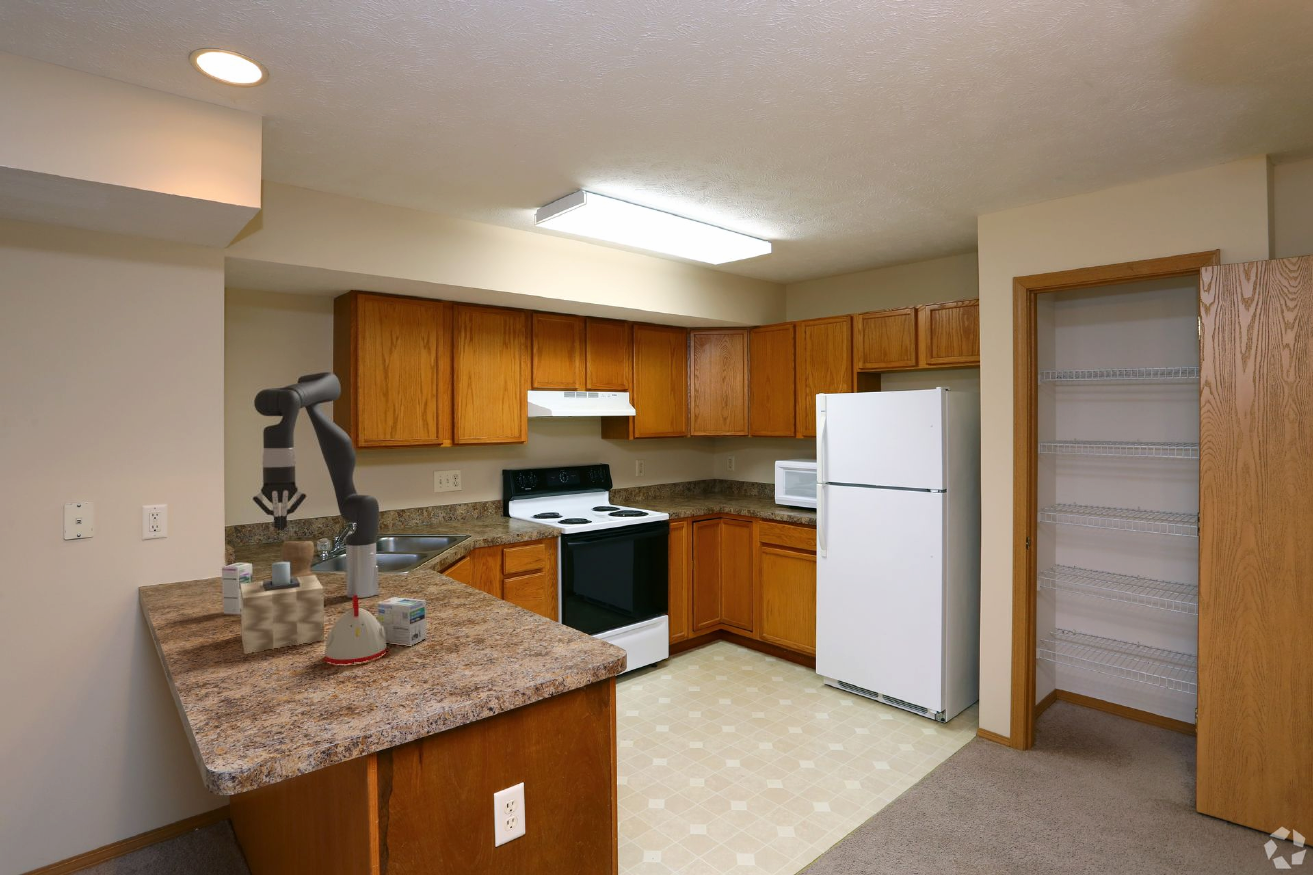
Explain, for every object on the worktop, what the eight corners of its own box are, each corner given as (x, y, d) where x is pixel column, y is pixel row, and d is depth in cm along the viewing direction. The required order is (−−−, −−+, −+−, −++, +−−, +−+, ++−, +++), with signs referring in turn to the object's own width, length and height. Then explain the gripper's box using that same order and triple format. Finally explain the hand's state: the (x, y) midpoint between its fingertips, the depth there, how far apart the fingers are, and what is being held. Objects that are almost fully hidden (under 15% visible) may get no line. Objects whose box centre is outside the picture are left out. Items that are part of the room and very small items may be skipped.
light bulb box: (427, 639, 179) (427, 599, 179) (410, 647, 173) (409, 605, 173) (394, 635, 183) (393, 595, 182) (376, 643, 176) (375, 602, 176)
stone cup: (316, 576, 253) (315, 536, 253) (318, 582, 243) (317, 541, 243) (269, 581, 246) (268, 540, 245) (269, 588, 235) (268, 545, 235)
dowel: (289, 605, 184) (289, 561, 183) (291, 608, 180) (290, 563, 180) (272, 607, 181) (271, 562, 181) (273, 611, 178) (272, 565, 178)
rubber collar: (296, 580, 186) (296, 577, 186) (299, 586, 179) (299, 582, 179) (263, 584, 182) (263, 581, 182) (265, 591, 175) (265, 587, 175)
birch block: (315, 623, 193) (314, 575, 193) (324, 640, 178) (323, 587, 178) (241, 634, 184) (240, 583, 183) (244, 653, 169) (243, 598, 168)
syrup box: (239, 614, 203) (238, 566, 202) (222, 613, 204) (221, 565, 204) (254, 609, 208) (253, 562, 208) (237, 608, 210) (236, 562, 209)
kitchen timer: (325, 670, 158) (324, 606, 157) (324, 652, 170) (323, 592, 169) (389, 660, 164) (388, 598, 164) (383, 643, 176) (382, 586, 176)
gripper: (305, 463, 187) (306, 526, 187) (249, 465, 179) (250, 530, 180) (308, 464, 180) (309, 529, 181) (250, 466, 173) (252, 534, 173)
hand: (280, 529), depth 180 cm, fingers closed
